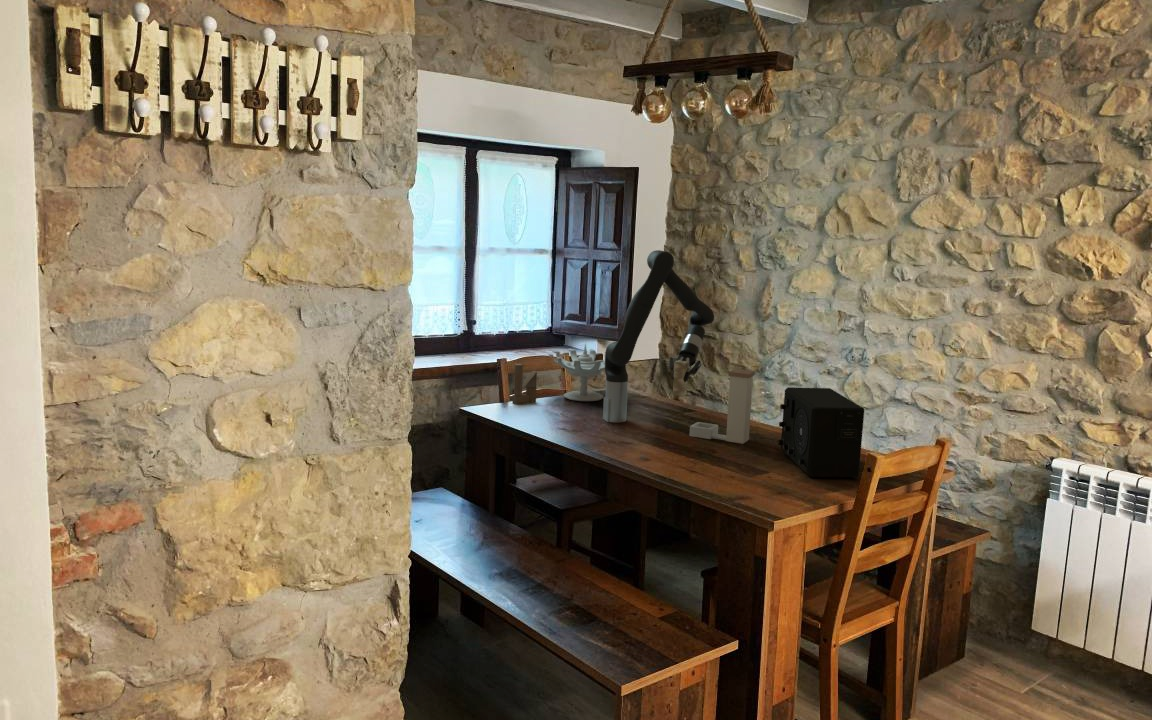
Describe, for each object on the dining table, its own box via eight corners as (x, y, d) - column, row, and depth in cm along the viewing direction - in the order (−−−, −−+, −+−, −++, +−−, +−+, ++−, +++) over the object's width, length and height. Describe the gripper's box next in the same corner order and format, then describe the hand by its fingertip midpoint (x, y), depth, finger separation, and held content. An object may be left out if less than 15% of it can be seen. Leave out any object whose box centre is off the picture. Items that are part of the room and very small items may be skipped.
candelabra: (629, 405, 407) (631, 346, 402) (554, 406, 399) (555, 346, 395) (610, 390, 440) (612, 336, 435) (540, 391, 432) (542, 336, 427)
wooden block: (536, 402, 408) (537, 363, 405) (516, 404, 401) (517, 365, 398) (531, 400, 411) (532, 362, 408) (512, 403, 404) (512, 364, 401)
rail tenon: (672, 395, 366) (674, 361, 364) (676, 393, 370) (678, 360, 368) (682, 396, 364) (684, 362, 362) (686, 394, 368) (688, 361, 366)
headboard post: (689, 435, 355) (693, 367, 350) (697, 431, 362) (701, 364, 358) (743, 444, 344) (748, 374, 340) (750, 439, 352) (755, 371, 347)
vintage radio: (772, 450, 337) (777, 385, 333) (823, 451, 339) (828, 386, 334) (802, 479, 300) (808, 407, 296) (859, 480, 302) (865, 408, 297)
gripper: (672, 340, 373) (660, 372, 365) (705, 343, 367) (693, 376, 358) (676, 351, 379) (664, 383, 370) (708, 354, 372) (697, 387, 364)
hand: (678, 380), depth 364 cm, fingers closed on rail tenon, 4 cm apart
